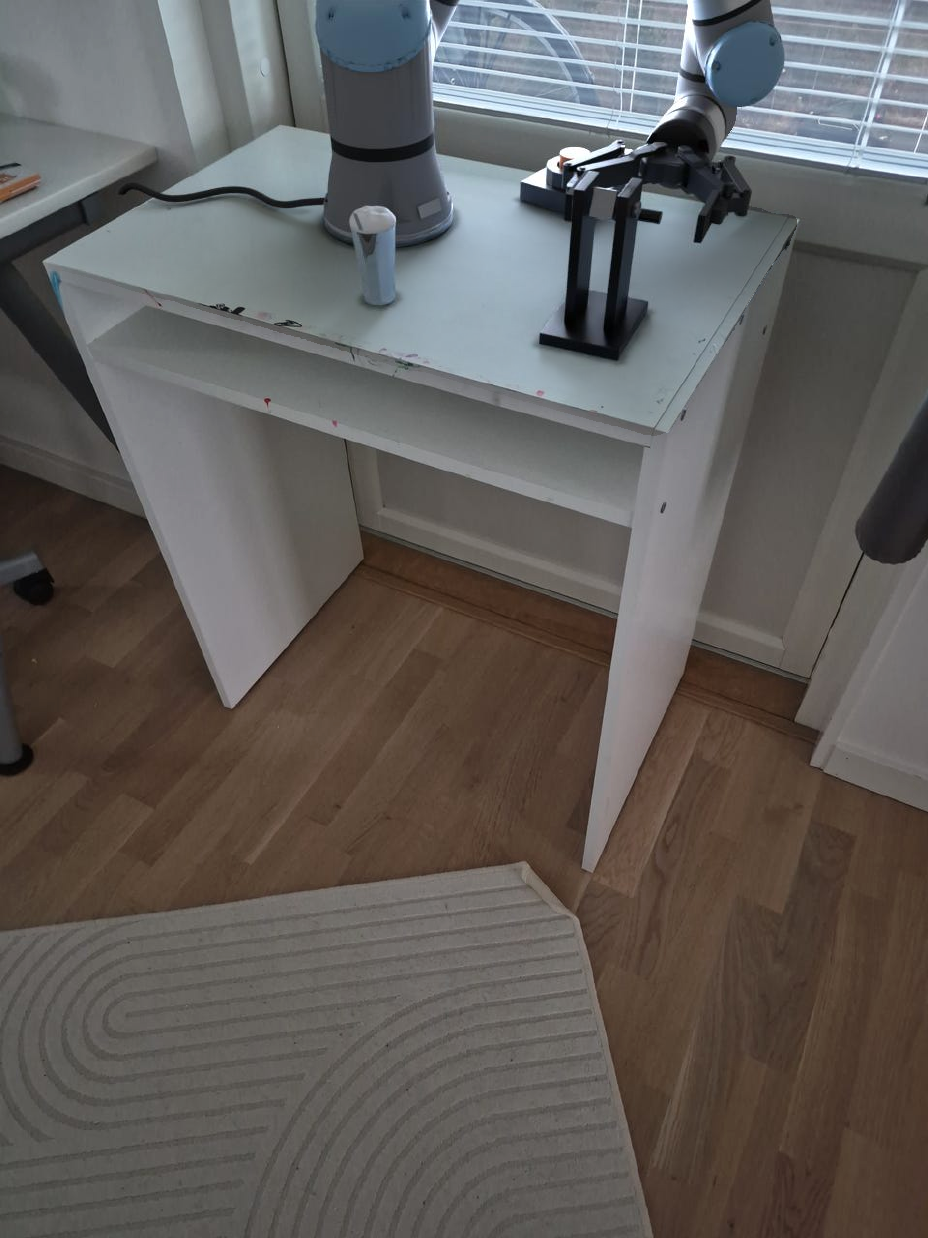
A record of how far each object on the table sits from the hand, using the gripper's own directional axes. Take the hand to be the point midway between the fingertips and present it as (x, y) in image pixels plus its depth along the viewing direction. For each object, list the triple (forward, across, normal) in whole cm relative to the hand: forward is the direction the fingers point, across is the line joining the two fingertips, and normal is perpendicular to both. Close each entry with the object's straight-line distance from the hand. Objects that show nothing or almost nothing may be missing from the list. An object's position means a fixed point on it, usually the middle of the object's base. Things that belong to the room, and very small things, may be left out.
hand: (632, 218), depth 89 cm
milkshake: (+13, +23, -7) cm, 27 cm away
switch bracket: (+10, 0, -7) cm, 12 cm away
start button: (-18, +12, -3) cm, 22 cm away
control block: (-18, +12, -7) cm, 23 cm away
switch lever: (+5, 0, +2) cm, 6 cm away
